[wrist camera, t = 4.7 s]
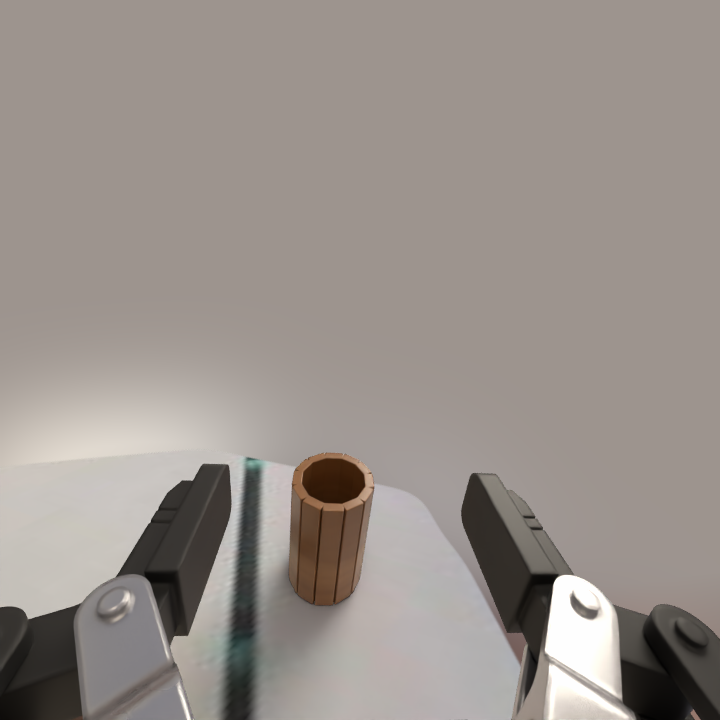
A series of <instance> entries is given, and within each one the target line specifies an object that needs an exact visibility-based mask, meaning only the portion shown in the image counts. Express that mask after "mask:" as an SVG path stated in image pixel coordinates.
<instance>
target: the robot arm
mask: <svg viewBox="0 0 720 720" xmlns="http://www.w3.org/2000/svg"><path fill="white" fill-rule="evenodd" d="M230 512H231V486H230V470H229V466H228V465H225V464H203V465H202V466H201V467H200V469H199V471H198V473H197V474H196V476H195V478H194V480H193V481H183V480H182V481H181V482H180V483H179V484H178V485H176V486H175V487H174V488H173V489H172V490H170V491H169V492H168V493H167V495H166V496H165V498H164V500H163V501H162V503H161V504H160V506H159V509H158V511H156V513H155V514H154V516H153V518H152V519H151V523H149V524H148V526H147V527H146V529H145V531H144V532H143V534H142V536H141V537H140V539H139V540H138V542H137V544H136V545H135V547H134V549H133V550H132V552H131V554H130V555H129V557H128V558H127V560H126V562H125V563H124V565H123V567H122V568H121V570H120V572H119V573H118V574H117V576H116V577H115V578H113V579H111V580H109V581H107V582H105V583H103V584H102V585H100V586H99V587H97V588H96V589H95V590H94V591H92V592H91V593H90V594H89V595H88V596H87V597H86V598H85V600H84V601H83V602H82V603H80V604H78V605H75V606H73V607H70V608H66V609H63V610H59V611H56V612H53V613H49V614H46V615H42V616H39V617H35V618H32V619H29V620H28V618H27V616H26V614H25V612H24V611H23V610H22V609H20V608H17V607H0V720H72V719H74V718H77V717H79V716H82V715H83V720H194V717H193V714H192V710H191V707H190V704H189V701H188V698H187V694H186V691H185V688H184V685H183V681H182V678H181V675H180V672H179V669H178V667H177V664H175V662H174V659H173V656H172V653H171V650H170V645H171V642H172V640H173V637H174V636H188V634H189V632H190V629H191V626H192V623H193V620H194V618H195V615H196V612H197V609H198V606H199V603H200V601H201V598H202V595H203V592H204V589H205V586H206V584H207V581H208V578H209V575H210V572H211V569H212V567H213V564H214V561H215V558H216V555H217V553H218V550H219V547H220V544H221V541H222V538H223V536H224V533H225V530H226V527H227V524H228V521H229V517H230ZM461 516H462V523H463V526H464V529H465V531H466V534H467V536H468V539H469V541H470V544H471V546H472V548H473V551H474V553H475V555H476V558H477V561H478V563H479V565H480V568H481V570H482V573H483V575H484V578H485V580H486V582H487V585H488V587H489V589H490V592H491V595H492V597H493V599H494V602H495V604H496V607H497V609H498V611H499V614H500V616H501V619H502V621H503V624H504V626H505V629H506V631H507V633H523V635H524V637H525V639H526V642H527V644H526V646H525V649H524V654H523V659H522V664H521V670H520V675H519V681H518V686H517V692H516V697H515V702H514V708H513V713H512V719H511V720H695V719H694V718H693V717H692V715H691V713H690V712H691V711H692V710H693V709H694V710H695V712H696V713H697V715H698V716H699V718H700V719H701V720H720V639H719V638H718V637H717V635H715V633H714V632H713V631H712V630H711V629H710V628H709V627H708V626H706V625H705V624H704V623H703V622H701V621H700V620H699V619H697V618H696V617H694V616H693V615H691V614H690V613H688V612H686V611H684V610H682V609H680V608H677V607H675V606H672V605H666V604H660V605H657V606H655V607H654V609H653V610H652V611H651V613H650V615H649V616H647V615H644V614H641V613H637V612H635V611H631V610H628V609H625V608H622V607H619V606H615V605H613V604H612V603H611V602H610V601H609V599H608V598H607V597H606V596H605V595H604V594H603V593H602V592H601V591H600V590H599V589H598V588H597V587H595V586H594V585H592V584H591V583H589V582H588V581H586V580H584V579H582V578H579V577H576V576H575V575H574V574H573V572H572V571H571V569H570V568H569V566H568V565H567V563H566V562H565V560H564V559H563V557H562V556H561V554H560V553H559V551H558V550H557V548H556V547H555V545H554V544H553V542H552V541H551V539H550V538H549V536H548V535H547V533H546V532H545V531H544V530H543V527H542V526H541V524H540V523H539V521H538V520H537V519H535V515H534V514H533V512H532V511H531V509H530V508H529V506H528V505H527V503H526V502H525V501H524V500H523V499H522V498H520V497H519V496H518V495H517V494H516V493H515V492H514V491H512V490H506V488H505V487H504V485H503V483H502V482H501V480H500V479H499V477H498V476H497V475H496V474H485V473H484V474H483V473H473V474H472V475H471V476H470V479H469V483H468V486H467V490H466V494H465V497H464V501H463V505H462V510H461Z"/></svg>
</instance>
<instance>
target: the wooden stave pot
mask: <svg viewBox="0 0 720 720" xmlns="http://www.w3.org/2000/svg"><path fill="white" fill-rule="evenodd" d="M373 492H374V482H373V475H372V474H371V471H370V470H369V469H368V468H367V467H366V466H365V465H364V464H363V462H360V460H358V459H355V458H353V457H351V456H349V455H346V454H344V455H343V454H342V453H325V454H324V453H321V454H318V455H315V456H312V457H309V458H308V459H305V460H304V461H303V462H302V463H301V464H300V465H299V466H298V467H297V468H296V469H295V471H294V475H293V481H292V497H291V525H290V554H289V579H290V582H291V584H292V586H293V588H294V590H295V592H296V593H298V596H300V597H301V598H303V599H305V600H306V601H308V602H309V603H311V604H313V603H314V601H315V605H333V602H334V604H337V603H339V602H340V601H342V600H344V599H345V598H347V597H348V596H350V593H351V594H352V593H353V591H354V589H355V587H356V585H357V583H358V581H359V579H360V574H361V568H362V561H363V555H364V549H365V543H366V536H367V530H368V524H369V517H370V511H371V505H372V498H373Z"/></svg>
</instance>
